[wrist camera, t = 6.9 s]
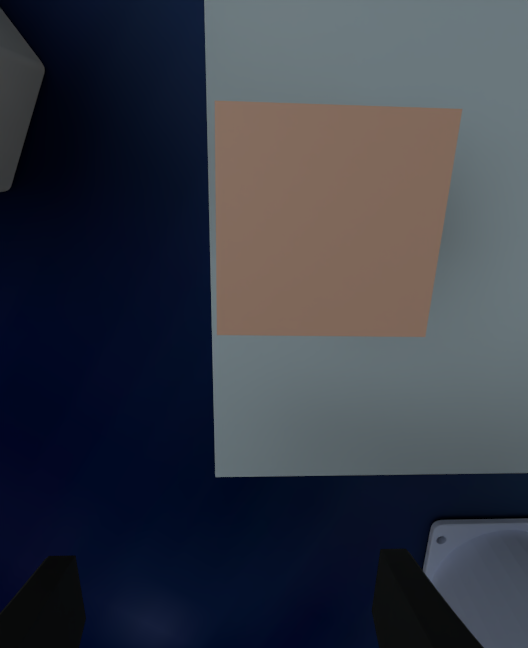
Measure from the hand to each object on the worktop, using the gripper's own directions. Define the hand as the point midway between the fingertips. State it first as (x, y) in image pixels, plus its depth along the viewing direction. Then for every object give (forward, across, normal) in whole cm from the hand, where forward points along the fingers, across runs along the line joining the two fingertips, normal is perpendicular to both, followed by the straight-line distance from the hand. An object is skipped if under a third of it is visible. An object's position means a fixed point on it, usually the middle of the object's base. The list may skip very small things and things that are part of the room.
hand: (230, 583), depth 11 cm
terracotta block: (+6, -2, -8) cm, 10 cm away
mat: (+10, -7, -5) cm, 13 cm away
